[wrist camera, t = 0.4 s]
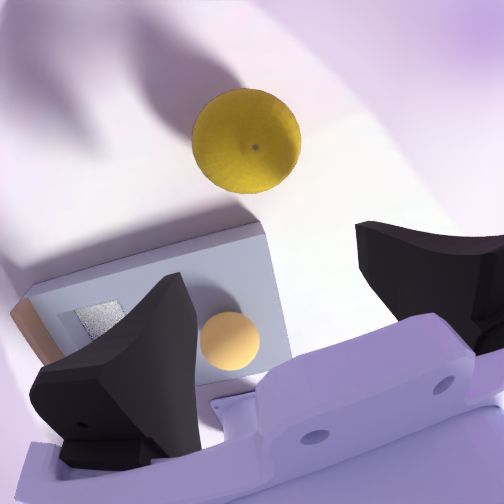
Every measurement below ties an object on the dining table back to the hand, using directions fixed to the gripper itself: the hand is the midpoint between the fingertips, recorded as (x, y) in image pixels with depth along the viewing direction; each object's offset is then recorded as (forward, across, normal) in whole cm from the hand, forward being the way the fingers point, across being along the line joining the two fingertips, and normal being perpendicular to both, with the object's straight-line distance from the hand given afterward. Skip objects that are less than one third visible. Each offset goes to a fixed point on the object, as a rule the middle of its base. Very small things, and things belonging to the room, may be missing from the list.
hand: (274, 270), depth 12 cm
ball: (+7, +4, +7) cm, 11 cm away
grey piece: (+10, +10, +7) cm, 15 cm away
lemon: (+10, 0, -5) cm, 11 cm away
